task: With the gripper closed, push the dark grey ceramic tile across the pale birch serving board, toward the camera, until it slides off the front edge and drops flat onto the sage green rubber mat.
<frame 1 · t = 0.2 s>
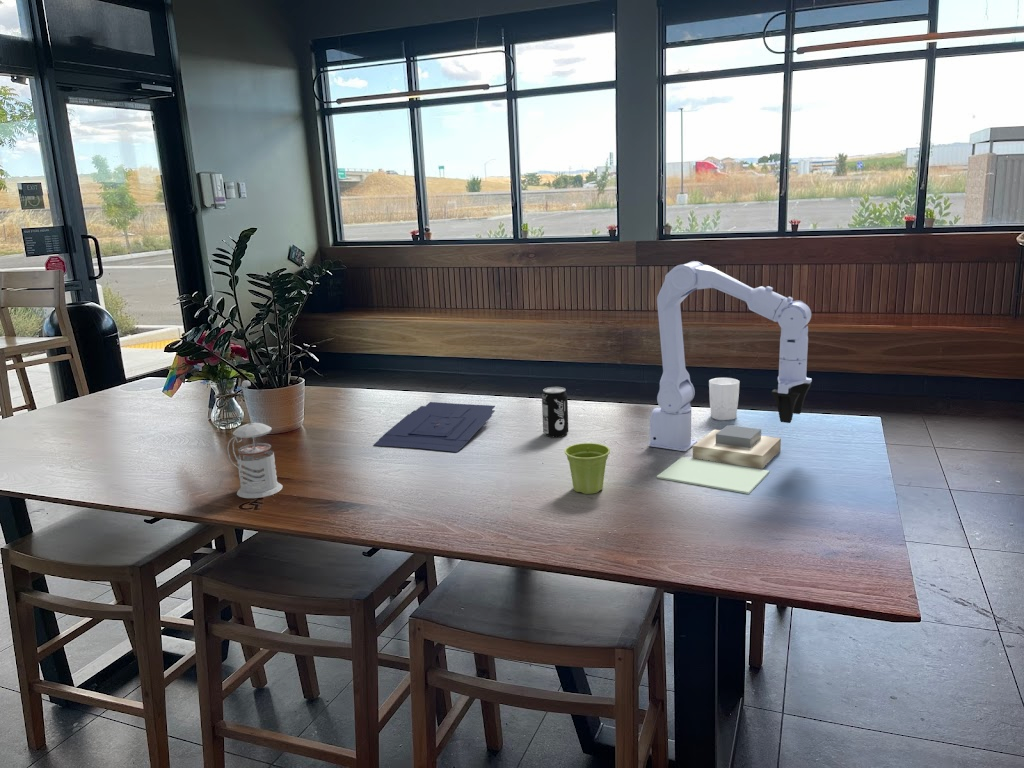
hand: (790, 417, 173), 10 cm above the table, fingers open, 7 cm apart
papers: (440, 433, 209), on the table
white cup: (723, 417, 210), on the table
mat: (713, 475, 168), on the table
tile: (738, 440, 180), point 3 cm above the table, touching board
beverage can: (555, 434, 202), on the table
board: (736, 454, 180), on the table
plant pot: (588, 490, 164), on the table
french press: (256, 490, 173), on the table
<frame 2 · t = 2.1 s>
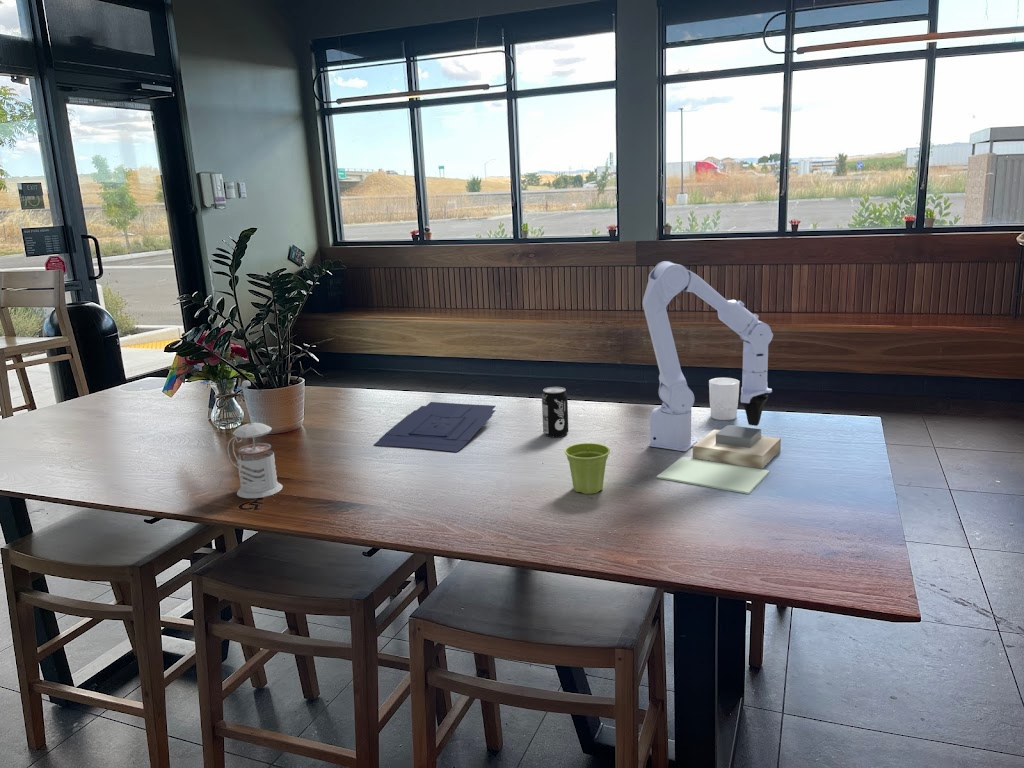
hand: (753, 424, 189), 4 cm above the table, fingers closed
nothing on the table moved.
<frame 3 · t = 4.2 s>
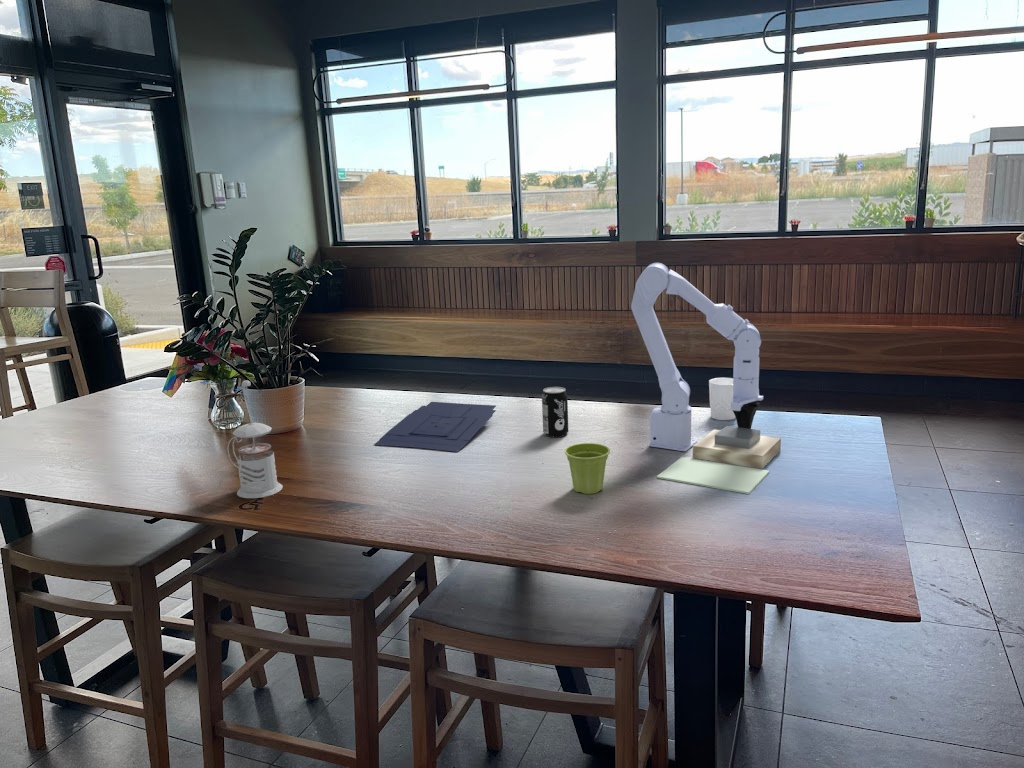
hand: (744, 432, 184), 4 cm above the table, fingers closed
nothing on the table moved.
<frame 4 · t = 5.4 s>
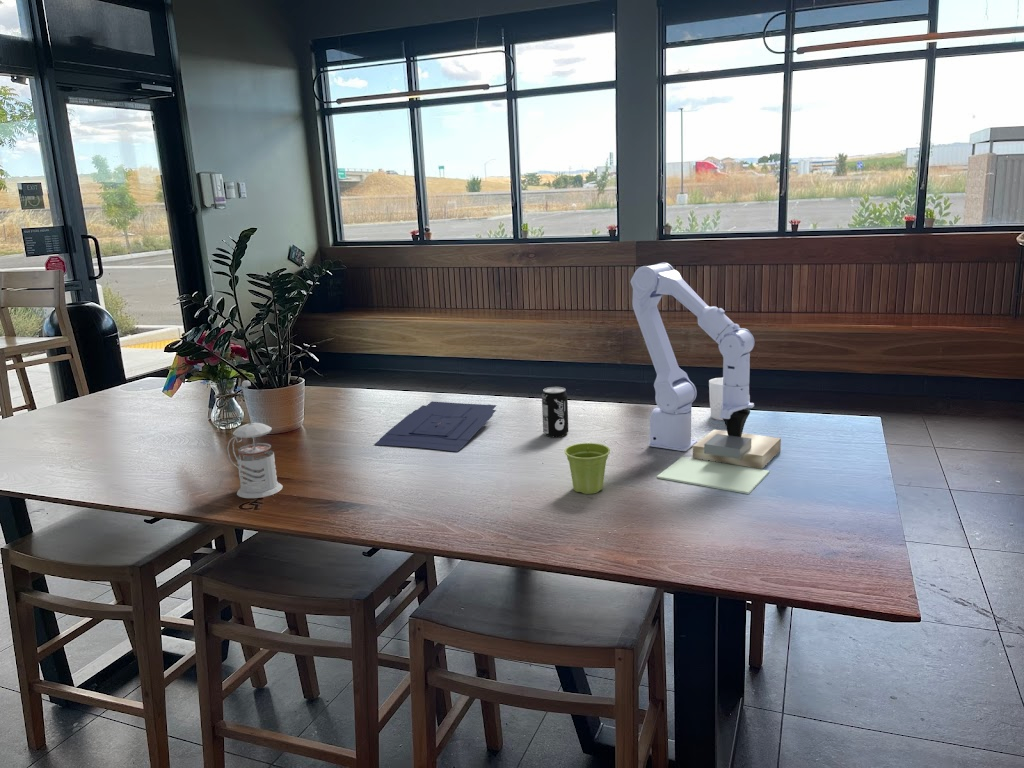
hand: (734, 441, 178), 4 cm above the table, fingers closed
tile: (727, 450, 174), point 3 cm above the table, touching board, gripper
everything else where it was.
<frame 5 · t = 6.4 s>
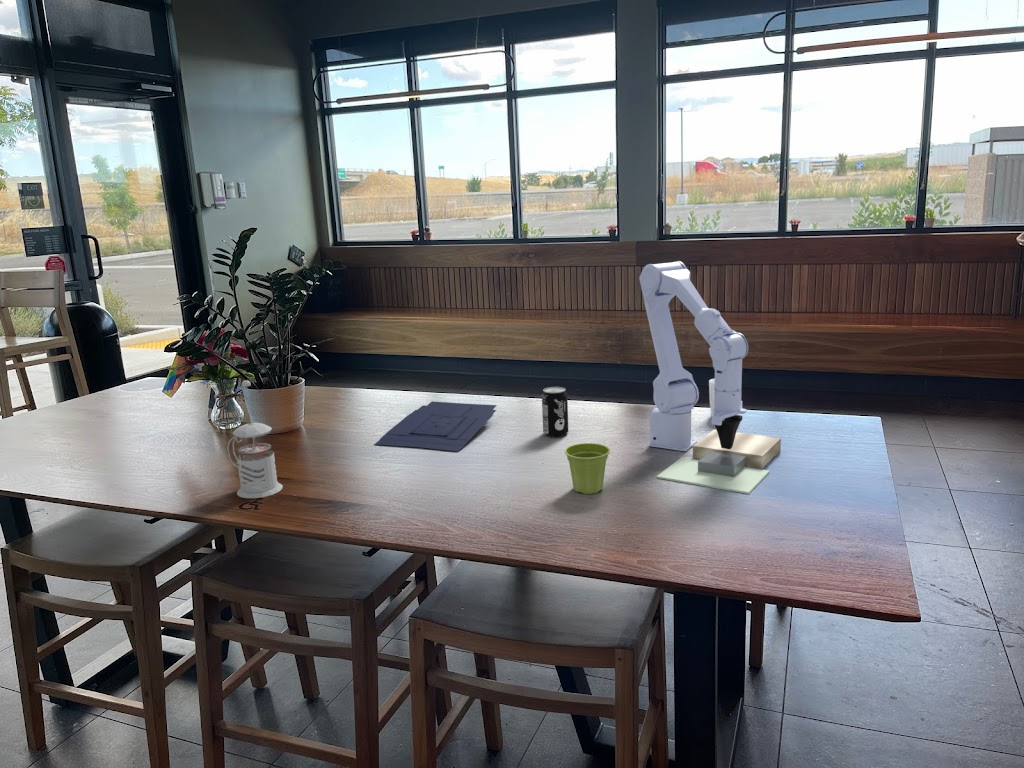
hand: (726, 447, 174), 4 cm above the table, fingers closed
tile: (722, 468, 171), resting on mat
everything else where it was.
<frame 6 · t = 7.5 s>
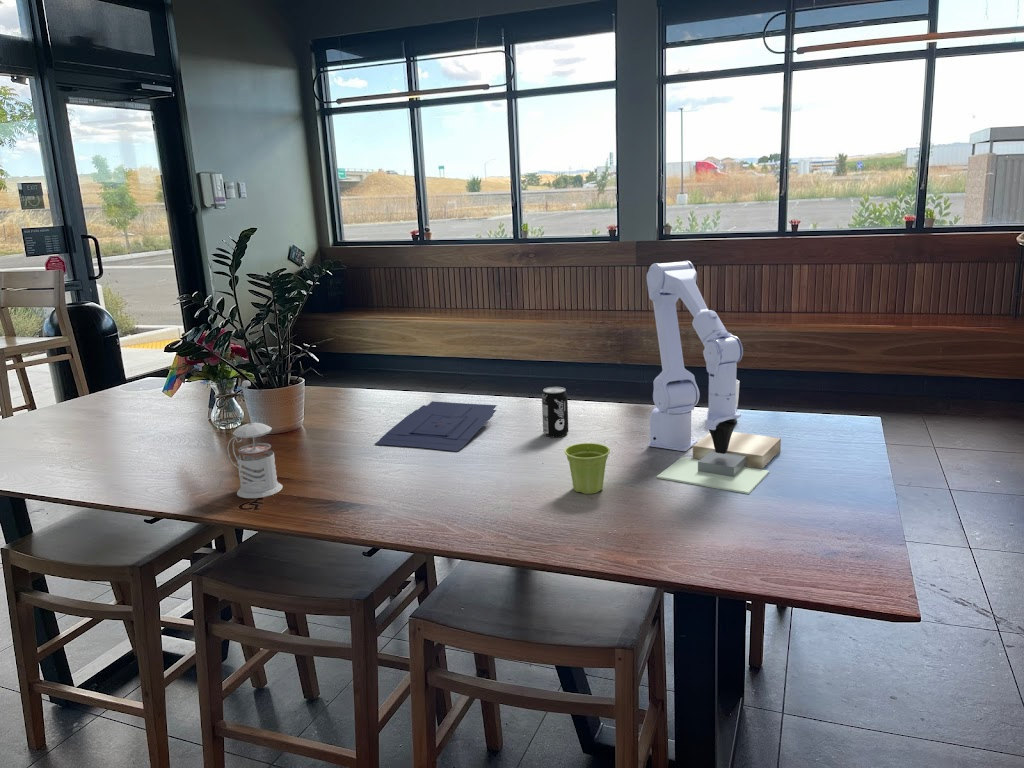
hand: (721, 452, 171), 4 cm above the table, fingers closed
nothing on the table moved.
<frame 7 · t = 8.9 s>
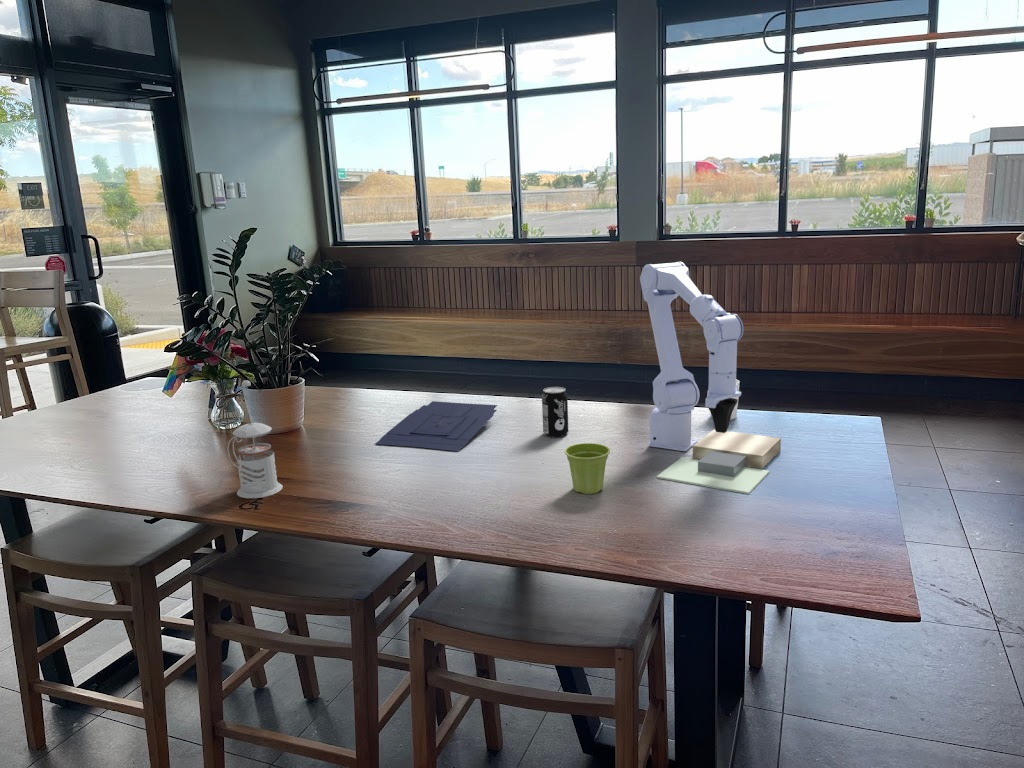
hand: (721, 431, 170), 8 cm above the table, fingers closed
nothing on the table moved.
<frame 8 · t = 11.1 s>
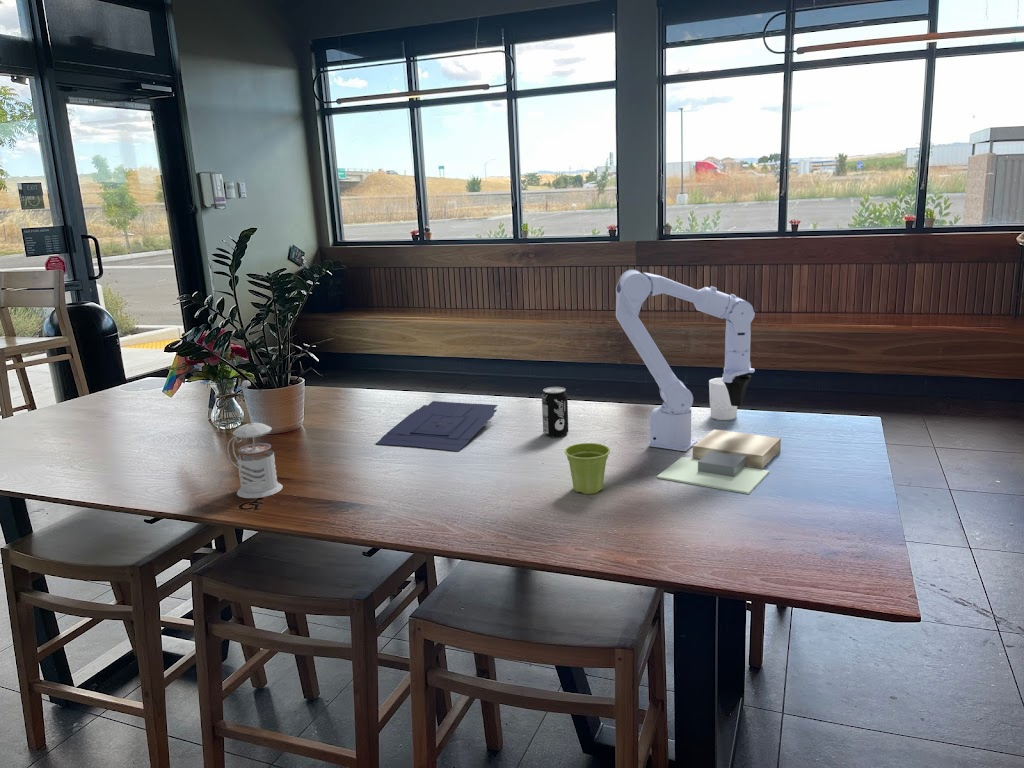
hand: (736, 405, 186), 9 cm above the table, fingers closed
nothing on the table moved.
at the end: tile resting on mat; tile inside the target area on the mat (3.9 cm from its centre), point 0.4 cm above the mat's base; tile tilted 0° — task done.
